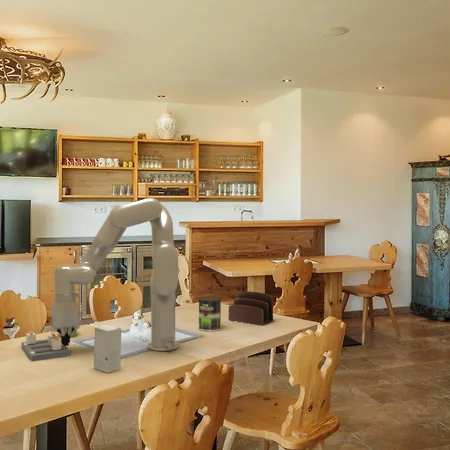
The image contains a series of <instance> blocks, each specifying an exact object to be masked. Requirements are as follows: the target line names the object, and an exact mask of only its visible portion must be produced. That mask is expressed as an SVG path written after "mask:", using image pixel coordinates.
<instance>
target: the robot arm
mask: <svg viewBox="0 0 450 450" xmlns="http://www.w3.org/2000/svg"><path fill="white" fill-rule="evenodd" d="M147 222H149V224H150V226H151V253H150V254H151V258H152V262H153V263H152V265H153V268H152V269H153V270H152V274H151V276H150V282H149V283H150V287H149V288H150V303H151V304H150V306H151V307H150V311H151V312H150V323H151V324H150V326H151V327H150V328H151V329H150V330H151V332H150V336H151V341H150V342H149V343H148V344H147V349H149V350H150V351H154V352H168V351H169V352H170V351H174V350H177V349H179V348H180V343H179V342H178V341H176V291H177V289H178V287H179V255H178V254H179V253H178V250H177V248H176V247H175V245H174V244H175V239H174V225H173V224H174V223H173V219H172V216H171V214H170V212H169V211H168V209H167V208H166V206H164V205H163V204H162V203H161V202H160V201H159V200H158V199H156V198H155V197H154V198H153V197H146V198H144V199H141V200H138V201H133V202H131V203H127V204H123V205H117V206H115V207H114V208H112V209H111V211H110V212H109V214H108V216H107V217H106V218H105V221H104V222H103V224H102V225H101V227H100V228H99V230H98V232H96V235H95V237H94V238H93V240H92V243H91V244H90V247H89V248H88V250H87V252H86V253H85V254H84V256H83V258H82V260H81V261H80V263H79V264H78V265H77V266H73V265H69V264H63V265H62V264H61V265H57V266H55V268H54V270H53V271H54V273H53V274H54V278H53V279H54V301H52V303H51V307H50V308H51V310H50V326H51V327H50V332H51V333H52V332H53V333H58V334H60V340H61V344H63V346H66V347H69V346H70V344H71V337H70V335H71V333H72V332H73V331H74V330H76V329H77V330H78V329H80V327H81V326H80V317H79V315H80V311H79V310H80V309H79V304H78V300H77V298H79V297H80V294H79V293H76V285H81V286H88V285H91V284H92V283H93V282H94V281H95V279H96V274H97V272H98V271H99V269H100V267H101V266H102V264H103V262H104V261H105V260H106V258H107V257H108V256H109V255H110V254H111V253H112V252H113V250H114V249H115V247H116V246H117V244H118V243H119V242H120V240H121V238H122V236H123V235H124V234H125V232H126V230H127V228H130V227H134V226H137V225H140V224H143V223H147ZM64 328H67V330H66V334H65V333H64Z"/></svg>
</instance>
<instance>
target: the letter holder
mask: <svg viewBox="0 0 450 450" xmlns="http://www.w3.org/2000/svg"><path fill="white" fill-rule="evenodd" d="M229 320H230V321H229ZM228 321H229V322H234V321H237V322H236V323H241V322H243V323H242V324H248V323H249V325H254V324H255V326H261V327H263V326H266V325H269V324H272V323H273V322H274V299H273V296H272V295H271V294H268V293H264V292H259V291H239V292H238V298H234V299H233V304H230V305H228Z"/></svg>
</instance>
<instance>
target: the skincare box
mask: <svg viewBox="0 0 450 450" xmlns="http://www.w3.org/2000/svg"><path fill="white" fill-rule="evenodd" d="M93 338H94V339H93V340H94V343H93V369H95V370H98V371H101V372H103V373H106V374H107V373H108V374H109V373H112V372H116V371H119V370H120V371H121V359H122V357H121V356H122V352H121V351H122V328H120V327H118V326H116V325H111V324H102V325H101V324H100V325H96V326H94V337H93Z"/></svg>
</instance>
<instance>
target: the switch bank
mask: <svg viewBox="0 0 450 450" xmlns="http://www.w3.org/2000/svg"><path fill="white" fill-rule="evenodd" d="M21 348H22V351H23V352H24V353H25V354H26V356H27V357H28V359H29V360H30V361H31V362H37V361H38V362H39V361H44V360H49V359H51V360H52V359H57V358H63V357H64V358H65V357H71V353H72V352H71V351H72V350H70V348H69V347H68V346H63V344H61V349H59V350H52V349H51V346H50V345H49V344H48V338H47V339H38V340H37V339H36V343H34V344H27V342H26V341H23V342H21Z"/></svg>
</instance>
